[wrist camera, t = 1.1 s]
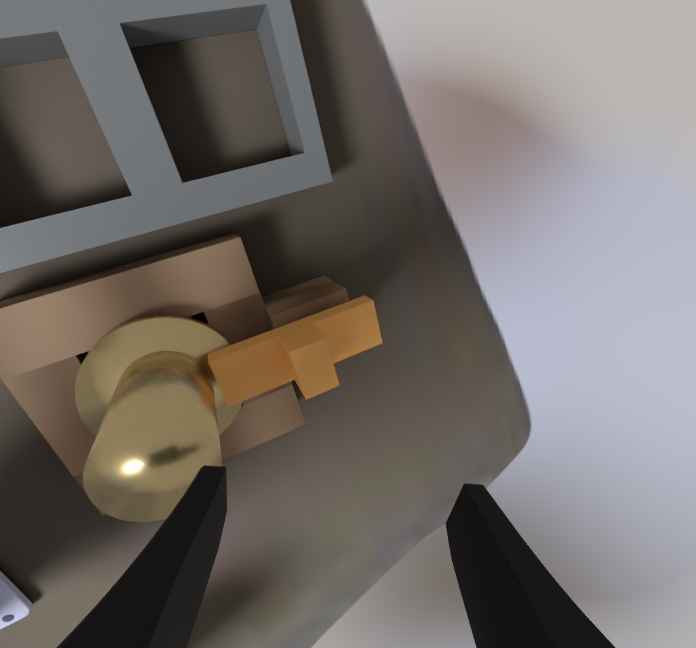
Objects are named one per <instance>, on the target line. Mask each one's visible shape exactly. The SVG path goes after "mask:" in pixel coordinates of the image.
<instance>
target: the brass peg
mask: <svg viewBox="0 0 696 648" xmlns="http://www.w3.org/2000/svg"><path fill="white" fill-rule="evenodd" d="M230 345H233V344H232V343H231V342H230V341H229V340H228V338H227V337H226V336H225V335H223V334H222V333H221V332H220V331H219V330H217V329H216V328H214V327H212V326H211V325H209V324H207V323H205V322H203V321H201V320H198V319H195V318H192V317H188V316H182V315H175V314H155V315H149V316H143V317H140V318H136V319H133V320H130V321H128V322H125V323H123V324H121V325H119V326H117V327H115V328H114V329H112V330H111V331H109V332H108V333H107V334H105V335H104V336H103V337H102V338H101V339H100V340H99V341H98V342H97V343H96V344H95V345H94V346H93V348H92V349H91V350H90V351H89V353H88V354H87V356H86V357H85V359H84V361H83V363H82V365H81V366H80V369H79V372H78V374H77V377H76V383H75V401H76V406H77V409H78V412H79V415H80V417H81V418H82V420H83V422H84V424H85V425H86V426H87V428H88V429H89V430H90V431H91V432H92V433H93V434H94V435H95V436H96V438H95V441H94V443H93V446H92V449H91V451H90V454H89V456H88V459H87V461H86V464H85V467H84V472H83V484H84V489H85V491H86V494H87V496H88V497H89V499H90V501H91V502H92V503H93V504H94V505H95V506H96V507H97V508H98V509H99V510H101V511H102V512H104V513H106V514H107V515H109V516H112V517H114V518H117V519H120V520H124V521H130V522H153V521H159V520H164V519H167V518H168V516H169V515H170V514H171V512H172V511H173V509H174V508H175V507H176V505H177V504H178V502H179V501H180V499H181V498H182V497H183V495H184V494H185V492H186V491H187V489H188V488H189V486H190V484H191V483H192V481H193V480H194V478H195V477H196V475H197V473H198V471H199V470H200V468H201V467H203V466H204V465H206V466H221V465H222V458H221V448H220V439H219V435H220V434H221V433H222V432H223V431H224V430H225V429H226V428H227V427H228V426H229V425H230V424H231V423H232V421H233V420H234V419H235V417H236V415H237V414H238V412H239V410H240V408H241V405H242V403H243V401H242V402H240V403H238V404H235V405H233V406H230V407H228V405H227V403H226V400H225V398H224V396H223V394H222V391H221V389H220V387H219V385H218V383H217V380H216V378H215V376H214V374H213V372H212V369H211V367H210V365H209V363H208V354H209V353H211V352H214V351H217V350H219V349H222V348H225V347H227V346H230Z"/></svg>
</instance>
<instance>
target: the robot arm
mask: <svg viewBox="0 0 696 648" xmlns="http://www.w3.org/2000/svg"><path fill="white" fill-rule="evenodd" d="M226 513H227V488H226V467H221V466H206V465H204V466H203V467H201V468H200V470H199V471H198V473H197V475H196V477H195V478H194V480H193V481H192V483H191V484H190V486H189V488H188V489H187V491H186V492H185V494H184V495H183V497H182V498H181V499H180V501H179V502H178V504H177V505H176V507H175V508H174V509H173V511H172V512H171V514H170V515H169V516H168V518H167V519H166V520H165V522H164V523H163V524H162V526H161V527H160V528H159V530H158V531H157V533H156V534H155V535H154V537H153V538H152V539H151V541H150V542H149V543H148V544H147V546H146V547H145V548H144V549H143V551H142V552H141V553H140V554H139V556H138V557H137V558H136V559H135V560H134V562H133V563H132V564H131V565H130V567H129V568H128V569H127V570H126V571H125V573H124V574H123V575H122V576H121V578H120V579H119V580H118V581H117V582H116V583H115V585H114V586H113V587H112V588H111V589H110V590H109V592H108V593H107V594H106V595H105V596H104V597H103V598H102V599H101V601H100V602H99V603H98V604H97V605H96V606H95V607H94V608H93V609H92V611H91V612H90V613H89V614H88V615H87V616H86V617H85V618H84V619H83V620H82V622H81V623H80V624H79V625H78V626H77V627H76V628H75V629H74V630H73V631H72V632H71V633H70V634H69V635H68V636H67V637H66V638H65V639H64V640H63V641H62V643H61V644H60V645H59V646H58V647H57V648H187V644H188V641H189V638H190V635H191V632H192V629H193V626H194V623H195V620H196V616H197V613H198V610H199V607H200V604H201V601H202V598H203V595H204V592H205V589H206V586H207V583H208V580H209V577H210V573H211V570H212V567H213V564H214V561H215V558H216V555H217V552H218V548H219V544H220V539H221V535H222V531H223V526H224V522H225V517H226ZM446 528H447V534H448V541H449V547H450V552H451V558H452V562H453V566H454V570H455V573H456V577H457V580H458V584H459V588H460V591H461V595H462V598H463V602H464V605H465V609H466V612H467V615H468V619H469V623H470V626H471V630H472V633H473V637H474V640H475V643H476V647H477V648H615V647H614V646H613V645H612V644H611V642H610V641H609V640H608V639H607V638H606V637H605V636H604V635H603V634H602V633H601V632H600V631H599V629H598V628H597V627H596V626H595V625H594V624H593V623H592V622H591V621H590V620H589V619H588V618H587V616H586V615H585V614H584V613H583V612H582V611H581V610H580V609H579V608H578V607H577V605H576V604H575V603H574V602H573V601H572V599H571V598H570V597H569V596H568V595H567V593H566V592H565V591H564V590H563V589H562V587H561V586H560V585H559V584H558V583H557V582H556V580H555V579H554V578H553V577H552V575H551V574H550V573H549V572H548V571H547V569H546V568H545V567H544V566H543V564H542V563H541V562H540V560H539V559H538V558H537V556H536V555H535V554H534V553H533V551H532V550H531V549H530V548H529V546H528V545H527V544H526V542H525V541H524V540H523V538H522V537H521V536H520V535H519V533H518V532H517V531H516V529H515V528H514V526H513V525H512V524H511V522H510V521H509V520H508V518H507V517H506V516H505V514H504V513H503V511H502V510H501V509H500V508H499V506H498V505H497V503H496V502H495V501H494V499H493V498H492V496H491V495H490V494H489V492H488V491H487V490H486V488H485V487H484V486H483V485H477V484H464V485H463V487H462V489H461V492H460V494H459V496H458V498H457V500H456V502H455V505H454V507H453V509H452V511H451V513H450V515H449V518H448V520H447V522H446ZM31 608H32V603H31V601H30V600H29V599H28V598H27V597H26V596H25V595H24V594H23V593H22V592H21V591H20V590H19V589H18V588H17V587H16V586H15V585H14V584H13V583H12V582H11V581H10V580H9V579H8V578H7V577H6V576H5V575H4V574H3V573H2V572H1V571H0V629H2V628H4V627H6V626H8V625H10V624H12V623H14V622H16V621H18V620H20V619H22V618H24V617H25V616H27V615H28V614H29V613H30V611H31ZM8 614H12V615H8Z"/></svg>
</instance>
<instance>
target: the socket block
mask: <svg viewBox="0 0 696 648" xmlns="http://www.w3.org/2000/svg"><path fill="white" fill-rule="evenodd" d="M348 301H349V297H348V293H347V289H346V288H344V287H343V286H341V285H339V284H338V283H336V282H334V281H333V280H331V279H329V278H328V277H326V276H324V275H323V276H320V277H317V278H315V279H312V280H309V281H306V282H303V283H300V284H297V285H294V286H291V287H288V288H286V289H283V290H280V291H277V292H274V293H271V294H268V295H265V296H262V297H261V294H260V291H259V289H258V286H257V283H256V280H255V277H254V275H253V272H252V269H251V266H250V263H249V260H248V258H247V255H246V252H245V249H244V246H243V243H242V241H241V238H240V237H239V236H238V235H237V234H236V233H232V234H228V235H225V236H222V237H218V238H215V239H211V240H208V241H204V242H201V243H198V244H194V245H191V246H187V247H184V248H180V249H177V250H174V251H170V252H167V253H163V254H160V255H157V256H153V257H150V258H146V259H143V260H139V261H136V262H133V263H129V264H126V265H122V266H119V267H115V268H112V269H109V270H105V271H102V272H98V273H95V274H92V275H88V276H85V277H81V278H78V279H74V280H71V281H68V282H64V283H61V284H57V285H54V286H50V287H47V288H44V289H40V290H37V291H33V292H30V293H27V294H23V295H20V296H16V297H13V298H9V299H6V300H3V301H0V378H1V379H2V381H3V382H4V384H5V385H6V386H7V388H8V389H9V390H10V392H11V393H12V394H13V396H14V397H15V398H16V400H17V401H18V403H19V404H20V405H21V407H22V408H23V409H24V411H25V412H26V413H27V415H28V416H29V417H30V419H31V420H32V422H33V423H34V424H35V426H36V427H37V428H38V430H39V431H40V432H41V434H42V435H43V436H44V438H45V439H46V441H47V442H48V443H49V445H50V446H51V447H52V449H53V450H54V451H55V453H56V454H57V455H58V457H59V458H60V460H61V461H62V462H63V464H64V465H65V466H66V468H67V469H68V470H69V472H70V473H71V474H72V476H73V477H74V479H75V480H76V481H77V483H78V484H79V485H80V487H81V488H82V489H83V491H84V492H85V493H86V491H85V489H84V484H83V472H84V467H85V464H86V461H87V459H88V456H89V454H90V451H91V449H92V446H93V443H94V441H95V438H96V436H95V435H94V434H93V433H92V432H91V431H90V430H89V429H88V428H87V426H86V425H85V424H84V422H83V420H82V418H81V417H80V415H79V412H78V409H77V406H76V401H75V383H76V377H77V374H78V372H79V369H80V366H81V365H82V363H83V361H84V359H85V357H86V356H87V354H88V353H89V351H90V350H91V349H92V348H93V346H94V345H95V344H96V343H97V342H98V341H99V340H100V339H101V338H102V337H103V336H104V335H105V334H107V333H108V332H109V331H111V330H112V329H114V328H115V327H117V326H119V325H121V324H123V323H125V322H128V321H130V320H133V319H136V318H140V317H143V316H149V315H155V314H175V315H182V316H188V317H190V316H193V315H195V314H198V313H201V312H204V314H205V316H206V319H207V321H208V323H209V325H211V326H212V327H214V328H216V329H217V330H219V331H220V332H221V333H222V334H223V335H225V336H226V337H227V338H228V340H229V341H230V342H231V343H232V344H235V343H238V342H241V341H244V340H246V339H249V338H252V337H254V336H257V335H260V334H262V333H265V332H268V331H270V330H273V329H276V328H278V327H281V326H284V325H286V324H289V323H292V322H295V321H297V320H300V319H303V318H305V317H308V316H311V315H313V314H316V313H319V312H321V311H324V310H327V309H329V308H332V307H335V306H337V305H340V304H343V303H346V302H348ZM305 424H306V422H305V419H304V416H303V413H302V410H301V407H300V405H299V402H298V399H297V396H296V393H295V390H294V388H293V385H292V382H291V381H290V382H288V383H286V384H283V385H281V386H278V387H276V388H274V389H271V390H269V391H266V392H264V393H262V394H259V395H257V396H254V397H252V398H250V399H247V400H245V401H243V403H242V405H241V408H240V410H239V412H238V414H237V415H236V417H235V419H234V420H233V421H232V423H231V424H230V425H229V426H228V427H227V428H226V429H225V430H224V431H223V432H222V433H221V434H220V435H219V439H220V448H221V458H222V462H223V461H225V460H227V459H230V458H232V457H234V456H236V455H238V454H241V453H243V452H245V451H247V450H249V449H252V448H254V447H256V446H258V445H260V444H263V443H265V442H267V441H269V440H271V439H274V438H276V437H278V436H280V435H283V434H285V433H287V432H289V431H291V430H294V429H296V428H298V427H300V426H302V425H305ZM86 495H87V494H86ZM88 498H89V497H88ZM94 506H95V505H94ZM95 507H96V506H95ZM96 508H97V507H96ZM97 510H98V511H99V512H100V514H101V515H102V516H104V515H106V513H104V512H102V511H101V510H99V509H98V508H97Z"/></svg>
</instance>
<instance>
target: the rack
mask: <svg viewBox="0 0 696 648" xmlns="http://www.w3.org/2000/svg"><path fill="white" fill-rule="evenodd" d="M254 29H257V32H258V35H259V39H260V43H261V46H262V50H263V54H264V57H265V61H266V65H267V68H268V72H269V76H270V79H271V83H272V87H273V90H274V94H275V98H276V101H277V105H278V109H279V113H280V116H281V120H282V124H283V127H284V131H285V135H286V138H287V142H288V146H289V149H290V153H291V156H290V157H286V158H282V159H278V160H274V161H270V162H266V163H262V164H258V165H254V166H250V167H245V168H241V169H237V170H233V171H229V172H225V173H221V174H217V175H213V176H209V177H205V178H201V179H197V180H193V181H189V182H185V183H183V182H182V179H181V177H180V174H179V172H178V169H177V167H176V164H175V162H174V159H173V157H172V154H171V151H170V149H169V146H168V144H167V141H166V139H165V136H164V134H163V131H162V129H161V126H160V124H159V121H158V118H157V116H156V113H155V111H154V108H153V106H152V103H151V101H150V98H149V96H148V93H147V91H146V88H145V85H144V83H143V80H142V78H141V75H140V73H139V70H138V68H137V65H136V63H135V60H134V58H133V55H132V52H131V50H130V48H132V47H139V46H146V45H153V44H160V43H166V42H173V41H180V40H187V39H193V38H200V37H207V36H214V35H220V34H227V33H234V32H241V31H248V30H254ZM65 57H70V60H71V62H72V64H73V66H74V68H75V71H76V73H77V75H78V77H79V80H80V82H81V84H82V86H83V88H84V91H85V93H86V95H87V97H88V99H89V102H90V104H91V106H92V108H93V110H94V113H95V115H96V117H97V119H98V121H99V124H100V126H101V128H102V130H103V132H104V135H105V137H106V139H107V141H108V144H109V146H110V148H111V150H112V152H113V155H114V157H115V159H116V161H117V163H118V166H119V168H120V170H121V172H122V174H123V177H124V179H125V181H126V183H127V185H128V188H129V190H130V192H131V194H132V196H128V197H124V198H120V199H116V200H112V201H108V202H104V203H100V204H96V205H92V206H88V207H84V208H80V209H76V210H72V211H67V212H63V213H59V214H55V215H51V216H47V217H43V218H39V219H35V220H31V221H27V222H23V223H19V224H15V225H11V226H7V227H2V225H1V224H0V273H2V272H6V271H9V270H13V269H17V268H20V267H24V266H28V265H31V264H35V263H38V262H42V261H46V260H49V259H53V258H57V257H60V256H64V255H68V254H71V253H75V252H78V251H82V250H86V249H89V248H93V247H97V246H100V245H104V244H108V243H111V242H115V241H118V240H122V239H126V238H129V237H133V236H137V235H140V234H144V233H148V232H151V231H155V230H158V229H162V228H166V227H169V226H173V225H177V224H180V223H184V222H188V221H191V220H195V219H199V218H202V217H206V216H209V215H213V214H217V213H220V212H224V211H228V210H231V209H235V208H239V207H242V206H246V205H249V204H253V203H257V202H260V201H264V200H268V199H271V198H275V197H279V196H282V195H286V194H289V193H293V192H297V191H300V190H304V189H308V188H311V187H315V186H319V185H322V184H326V183H329V182H333V180H332V176H331V171H330V167H329V163H328V159H327V154H326V150H325V146H324V142H323V137H322V133H321V129H320V125H319V120H318V116H317V112H316V108H315V104H314V99H313V95H312V91H311V87H310V82H309V78H308V74H307V70H306V65H305V61H304V57H303V53H302V48H301V44H300V40H299V36H298V31H297V27H296V23H295V19H294V14H293V10H292V6H291V2H290V0H0V67H4V66H11V65H17V64H24V63H31V62H38V61H45V60H51V59H58V58H65Z"/></svg>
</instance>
